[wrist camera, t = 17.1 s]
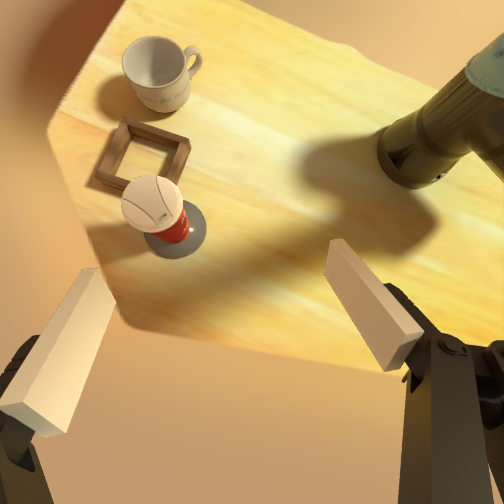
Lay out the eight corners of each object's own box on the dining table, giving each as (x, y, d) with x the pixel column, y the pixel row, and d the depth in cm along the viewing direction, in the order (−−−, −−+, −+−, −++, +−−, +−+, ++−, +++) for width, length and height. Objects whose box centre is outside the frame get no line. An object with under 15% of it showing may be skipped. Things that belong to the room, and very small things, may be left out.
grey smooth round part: (158, 192, 45) (157, 191, 44) (214, 211, 45) (214, 210, 45) (135, 247, 43) (134, 246, 42) (194, 266, 43) (194, 265, 43)
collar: (129, 127, 46) (123, 116, 43) (191, 148, 47) (188, 138, 44) (103, 184, 44) (94, 176, 41) (168, 205, 44) (164, 199, 42)
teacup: (146, 126, 47) (129, 93, 39) (132, 79, 48) (113, 37, 40) (214, 111, 49) (212, 76, 41) (199, 66, 50) (194, 24, 42)
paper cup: (204, 232, 44) (193, 206, 30) (169, 258, 42) (140, 242, 29) (178, 200, 44) (156, 159, 30) (143, 224, 43) (103, 192, 29)
